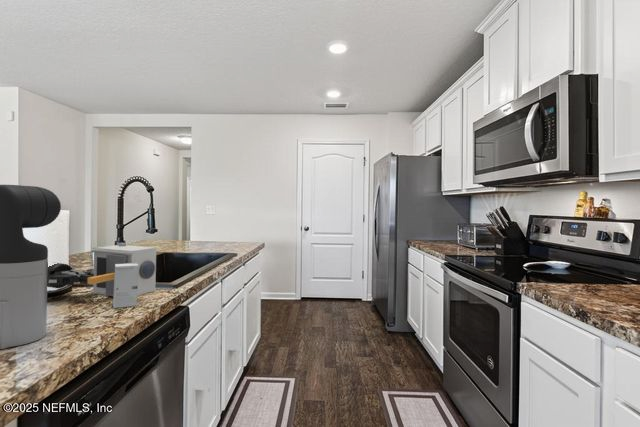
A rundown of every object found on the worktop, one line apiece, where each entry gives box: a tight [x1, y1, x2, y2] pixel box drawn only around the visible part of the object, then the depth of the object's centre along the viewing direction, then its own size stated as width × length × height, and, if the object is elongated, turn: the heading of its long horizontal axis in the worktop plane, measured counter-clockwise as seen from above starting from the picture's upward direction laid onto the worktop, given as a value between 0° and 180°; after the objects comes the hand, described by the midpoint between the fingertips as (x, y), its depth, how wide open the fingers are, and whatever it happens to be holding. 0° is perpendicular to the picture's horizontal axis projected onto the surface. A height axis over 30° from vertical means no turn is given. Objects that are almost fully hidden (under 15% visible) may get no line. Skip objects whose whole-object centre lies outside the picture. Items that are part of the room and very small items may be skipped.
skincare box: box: [112, 263, 139, 309], centre depth 95 cm, size 6×4×12 cm
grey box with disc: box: [90, 242, 157, 297], centre depth 109 cm, size 11×17×16 cm, turn 73°
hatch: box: [87, 254, 126, 297], centre depth 99 cm, size 9×7×13 cm
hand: (92, 279), depth 96 cm, fingers closed
